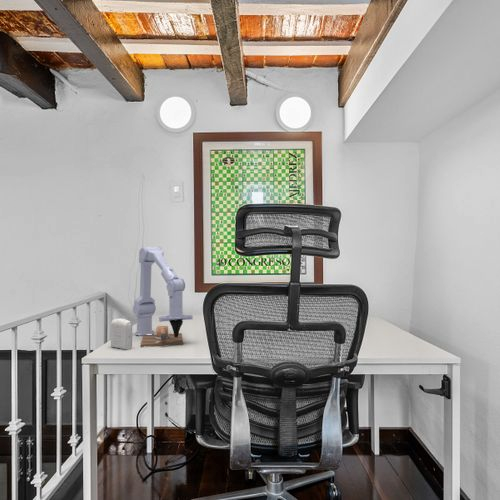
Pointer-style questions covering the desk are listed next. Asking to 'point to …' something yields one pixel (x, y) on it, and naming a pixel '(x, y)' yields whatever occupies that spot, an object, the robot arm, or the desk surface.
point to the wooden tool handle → (162, 331)
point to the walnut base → (161, 340)
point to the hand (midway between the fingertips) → (176, 336)
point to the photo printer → (121, 334)
